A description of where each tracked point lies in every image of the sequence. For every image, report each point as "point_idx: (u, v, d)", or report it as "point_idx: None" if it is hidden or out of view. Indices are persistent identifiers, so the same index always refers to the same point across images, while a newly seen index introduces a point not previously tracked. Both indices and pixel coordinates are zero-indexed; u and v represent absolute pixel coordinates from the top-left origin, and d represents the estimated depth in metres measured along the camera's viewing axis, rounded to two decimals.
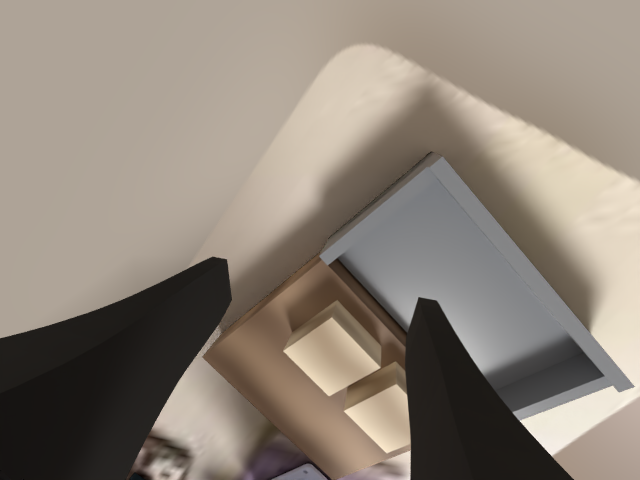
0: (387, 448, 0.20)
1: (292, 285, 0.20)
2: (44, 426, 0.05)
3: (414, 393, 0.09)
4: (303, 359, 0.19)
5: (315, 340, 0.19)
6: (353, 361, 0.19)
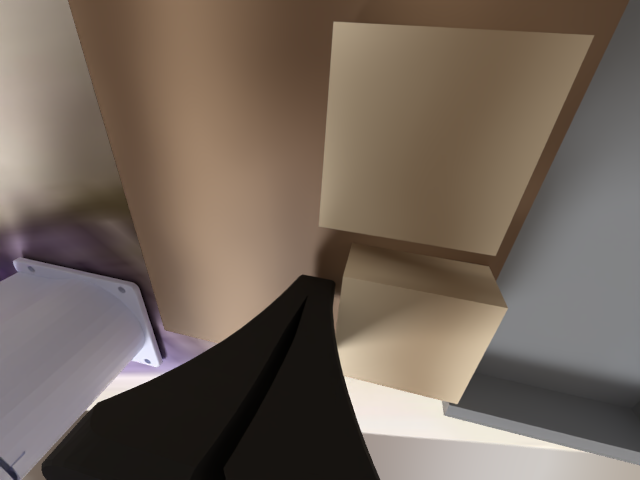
0: None
1: None
2: None
3: None
4: (358, 98, 0.06)
5: (456, 69, 0.06)
6: (465, 200, 0.07)
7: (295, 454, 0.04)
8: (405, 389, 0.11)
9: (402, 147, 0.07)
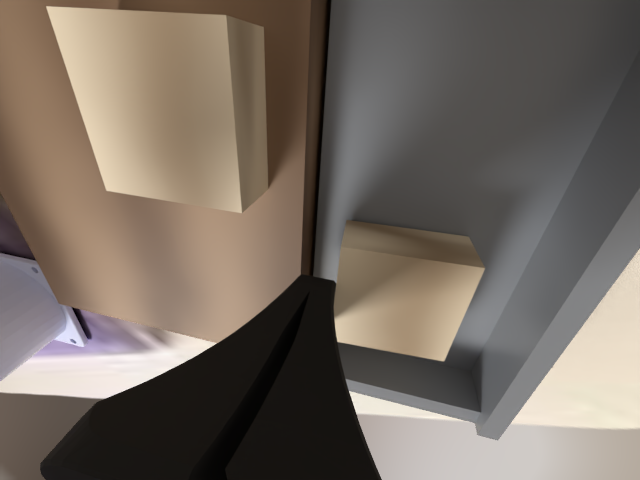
0: (339, 336, 0.12)
1: None
2: None
3: None
4: (89, 72, 0.07)
5: (146, 46, 0.07)
6: (199, 162, 0.08)
7: (297, 455, 0.04)
8: (398, 351, 0.12)
9: (136, 115, 0.08)
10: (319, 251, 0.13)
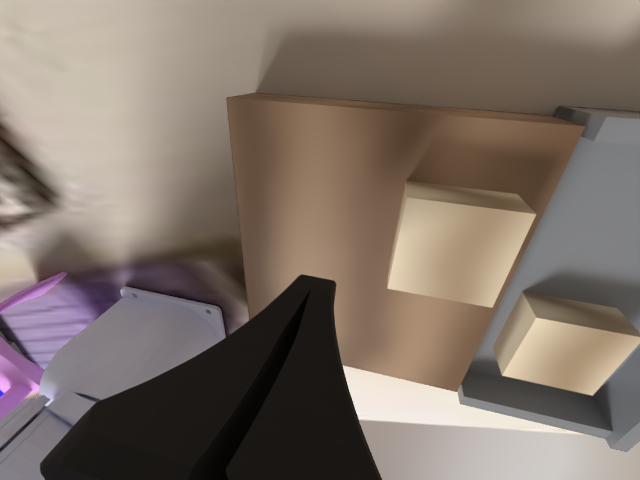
0: (511, 373, 0.16)
1: (495, 121, 0.11)
2: None
3: None
4: (417, 229, 0.12)
5: (469, 221, 0.11)
6: (474, 279, 0.12)
7: (297, 455, 0.04)
8: (555, 386, 0.16)
9: (440, 252, 0.12)
10: None
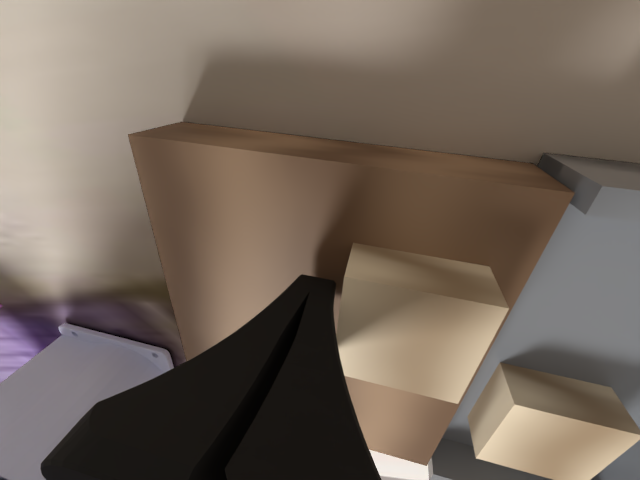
0: (486, 457, 0.14)
1: (459, 180, 0.09)
2: None
3: None
4: (360, 313, 0.09)
5: (424, 310, 0.09)
6: (434, 372, 0.10)
7: (296, 454, 0.04)
8: (537, 473, 0.14)
9: (390, 340, 0.09)
10: None
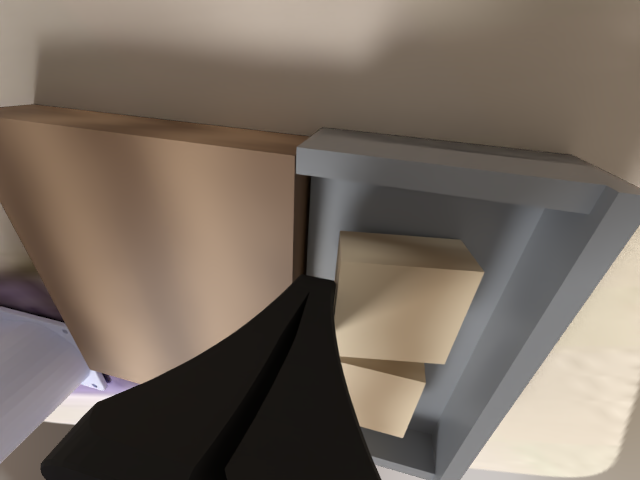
0: None
1: (209, 147, 0.10)
2: None
3: None
4: (356, 294, 0.10)
5: (414, 283, 0.10)
6: (424, 339, 0.11)
7: (296, 455, 0.04)
8: (367, 426, 0.15)
9: (385, 316, 0.10)
10: None
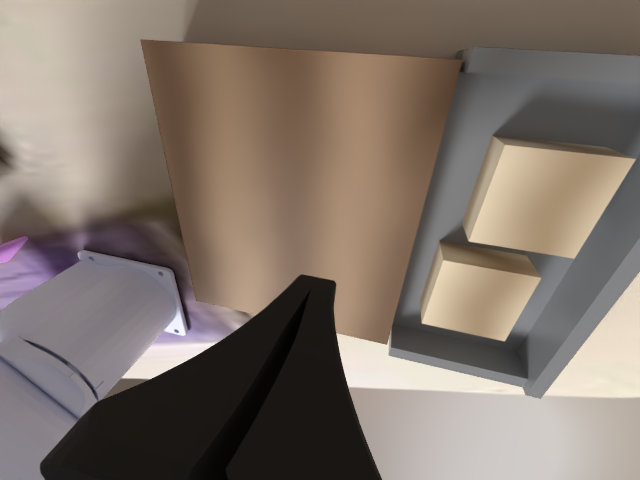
0: (429, 321, 0.17)
1: (382, 57, 0.12)
2: None
3: None
4: (509, 178, 0.12)
5: (565, 168, 0.12)
6: (561, 229, 0.13)
7: (297, 455, 0.04)
8: (471, 333, 0.17)
9: (529, 202, 0.12)
10: (411, 263, 0.18)
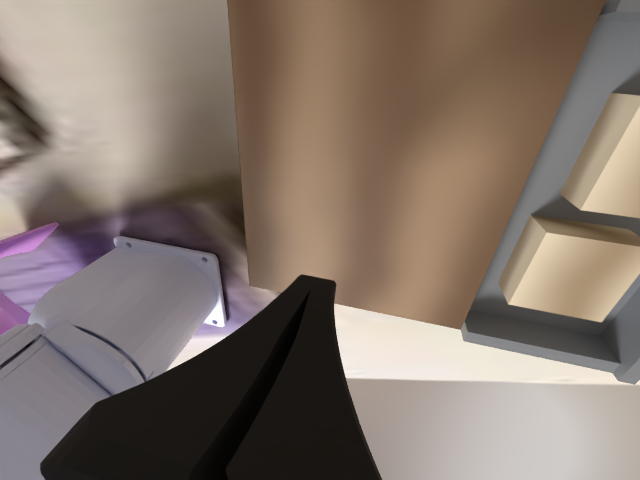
0: (518, 301, 0.16)
1: None
2: None
3: None
4: None
5: None
6: None
7: (297, 455, 0.04)
8: (563, 314, 0.16)
9: None
10: None
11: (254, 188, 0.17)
